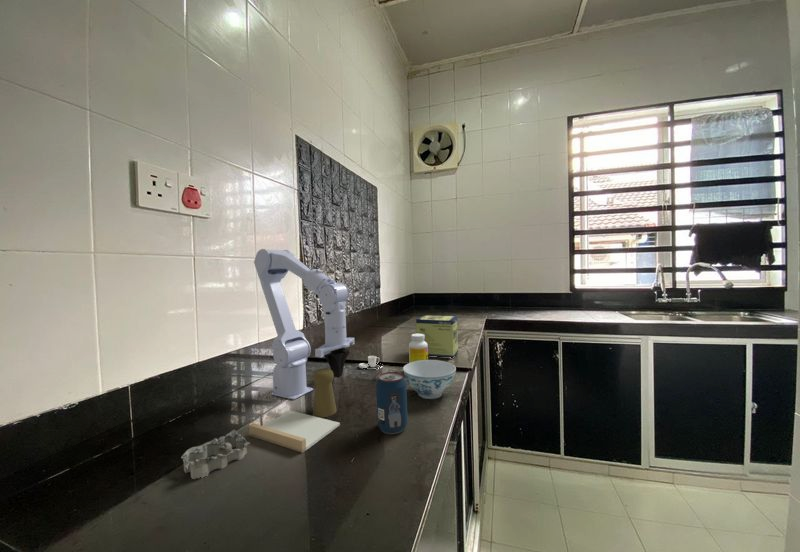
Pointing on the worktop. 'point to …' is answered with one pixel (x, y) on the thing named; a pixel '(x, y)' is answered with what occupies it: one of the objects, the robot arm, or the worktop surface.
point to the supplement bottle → (418, 348)
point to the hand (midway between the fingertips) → (337, 376)
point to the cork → (323, 393)
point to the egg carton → (221, 447)
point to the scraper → (294, 430)
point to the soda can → (391, 402)
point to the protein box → (439, 334)
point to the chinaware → (429, 377)
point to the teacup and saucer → (370, 362)
